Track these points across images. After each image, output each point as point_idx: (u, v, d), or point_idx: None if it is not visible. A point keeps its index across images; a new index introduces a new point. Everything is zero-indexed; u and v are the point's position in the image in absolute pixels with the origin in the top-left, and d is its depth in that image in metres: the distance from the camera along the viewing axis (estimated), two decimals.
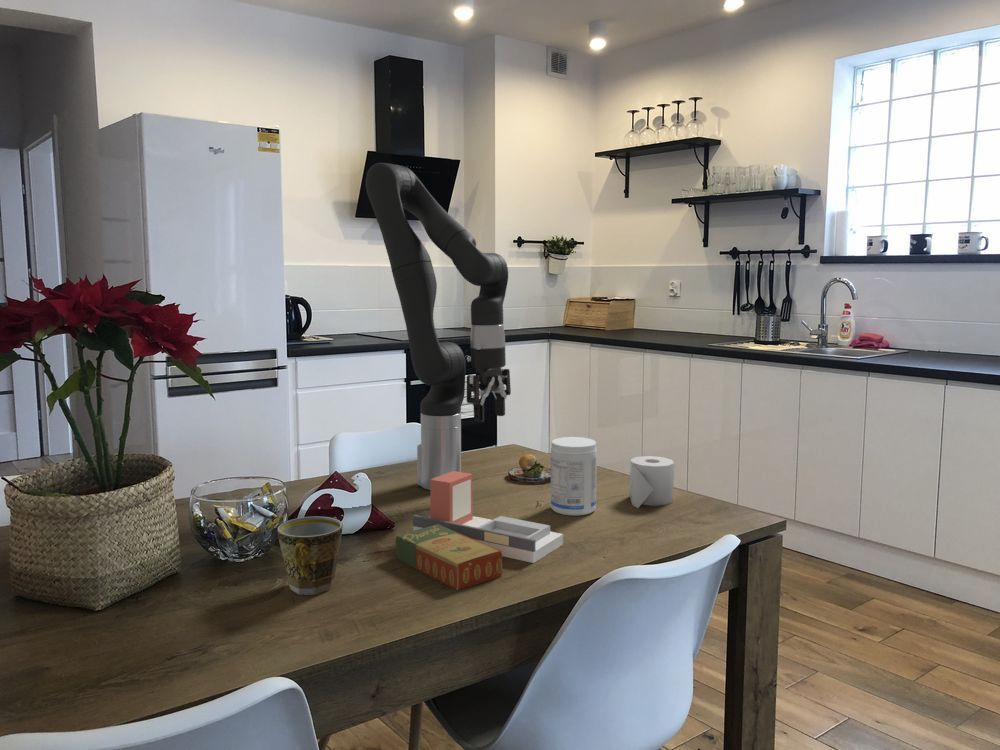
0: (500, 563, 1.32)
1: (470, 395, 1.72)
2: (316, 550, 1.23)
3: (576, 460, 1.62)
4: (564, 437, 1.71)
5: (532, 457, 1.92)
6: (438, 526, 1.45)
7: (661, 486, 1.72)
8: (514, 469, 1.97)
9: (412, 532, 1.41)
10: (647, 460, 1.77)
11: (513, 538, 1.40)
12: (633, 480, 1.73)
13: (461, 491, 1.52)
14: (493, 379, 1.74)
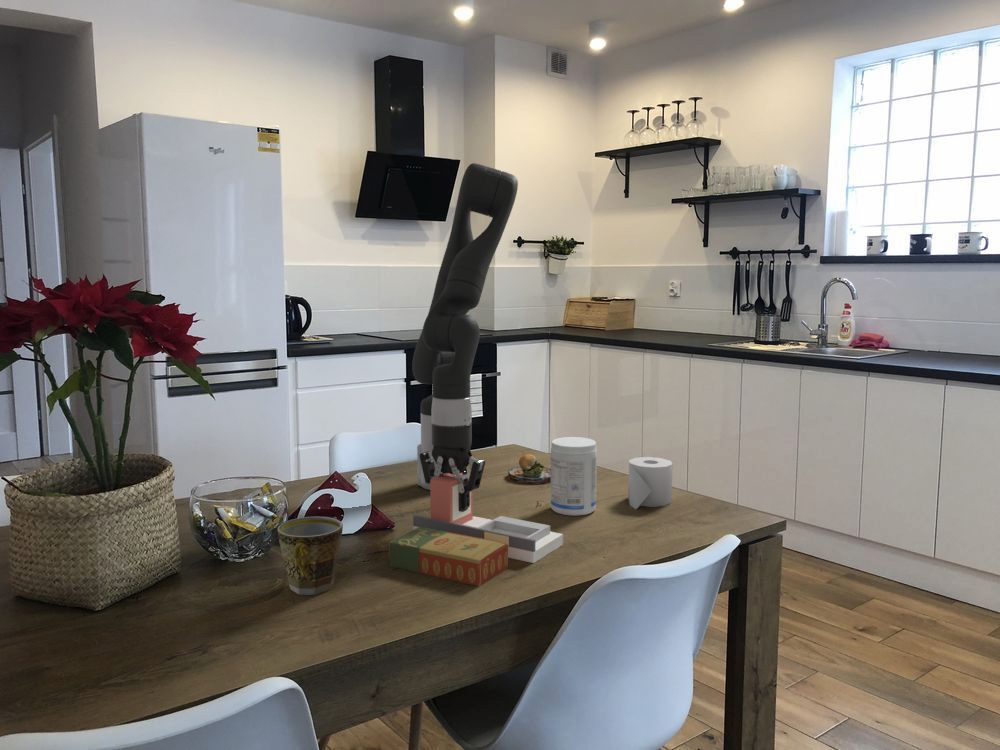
0: (507, 555, 1.36)
1: None
2: (316, 550, 1.23)
3: (576, 460, 1.62)
4: (564, 437, 1.71)
5: (532, 457, 1.92)
6: (422, 528, 1.43)
7: (659, 487, 1.71)
8: (514, 469, 1.97)
9: (403, 537, 1.39)
10: (646, 461, 1.76)
11: (513, 538, 1.40)
12: (631, 481, 1.72)
13: None
14: None
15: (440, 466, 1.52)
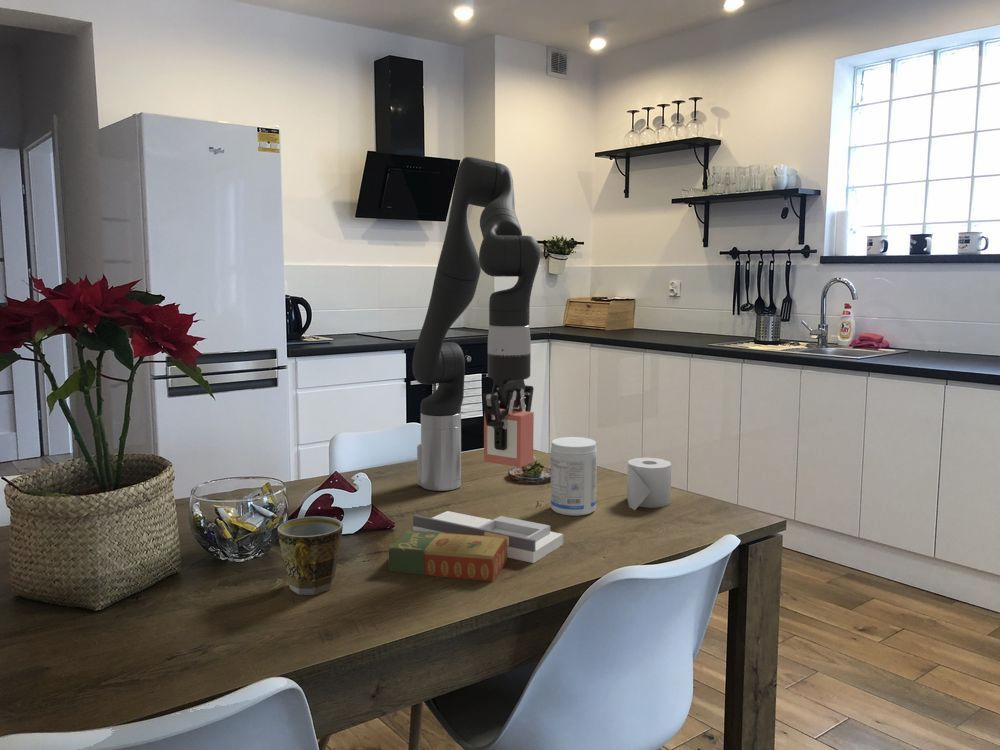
0: (506, 549, 1.39)
1: None
2: (316, 550, 1.23)
3: (576, 460, 1.62)
4: (564, 437, 1.71)
5: None
6: (412, 531, 1.42)
7: (658, 488, 1.70)
8: (514, 469, 1.97)
9: (400, 541, 1.37)
10: (644, 462, 1.76)
11: (513, 538, 1.40)
12: (630, 482, 1.72)
13: None
14: None
15: (513, 402, 1.40)
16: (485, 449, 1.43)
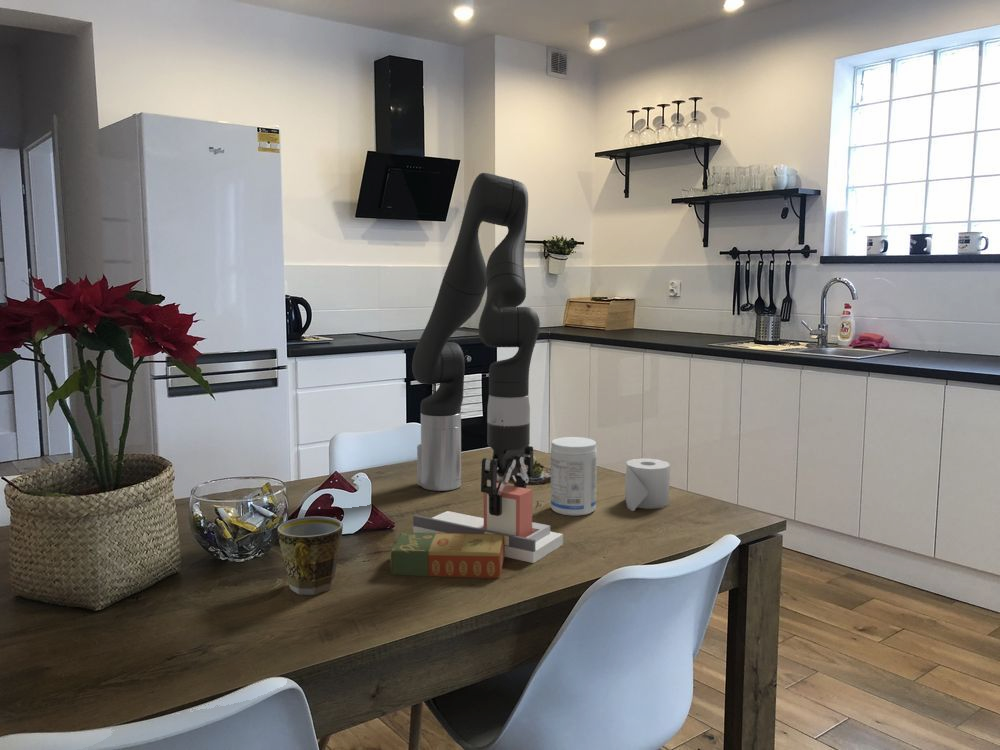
0: (504, 546, 1.40)
1: None
2: (316, 550, 1.23)
3: (576, 460, 1.62)
4: (564, 437, 1.71)
5: None
6: (407, 533, 1.41)
7: (656, 489, 1.70)
8: None
9: (400, 543, 1.35)
10: (643, 463, 1.75)
11: (513, 538, 1.40)
12: (628, 483, 1.71)
13: None
14: None
15: (511, 470, 1.41)
16: (485, 525, 1.45)
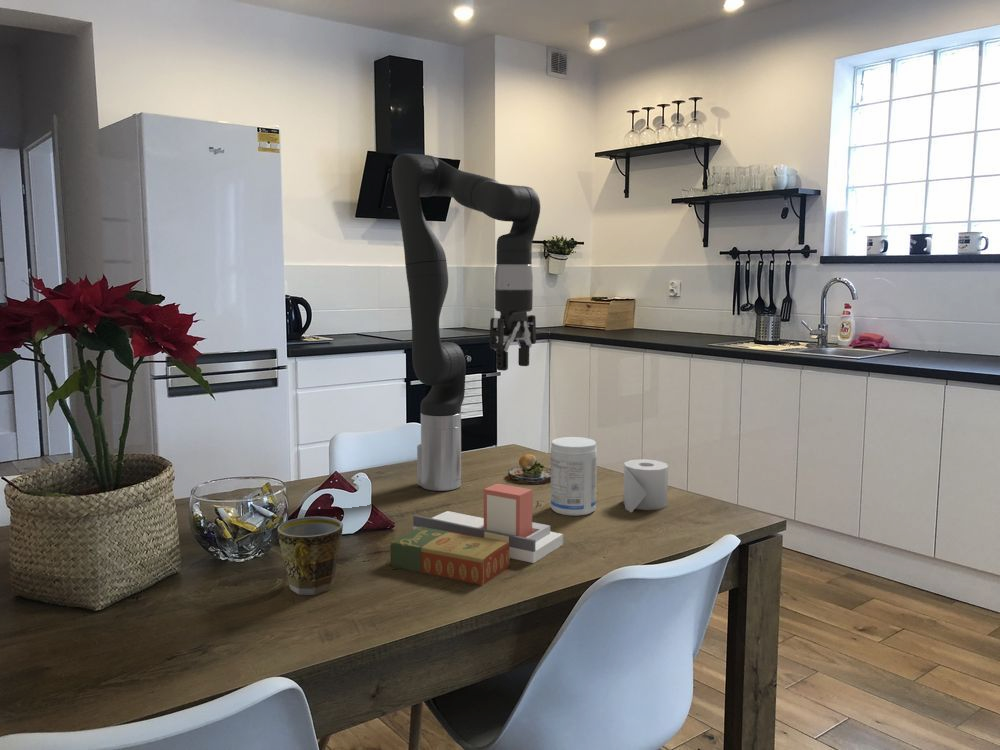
0: (508, 554, 1.36)
1: None
2: (316, 550, 1.23)
3: (576, 460, 1.62)
4: (564, 437, 1.70)
5: (532, 457, 1.92)
6: (422, 528, 1.44)
7: (654, 490, 1.69)
8: (514, 469, 1.97)
9: (404, 537, 1.39)
10: (641, 464, 1.74)
11: (513, 538, 1.40)
12: (626, 484, 1.70)
13: None
14: None
15: (516, 331, 1.60)
16: (485, 525, 1.45)
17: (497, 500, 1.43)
